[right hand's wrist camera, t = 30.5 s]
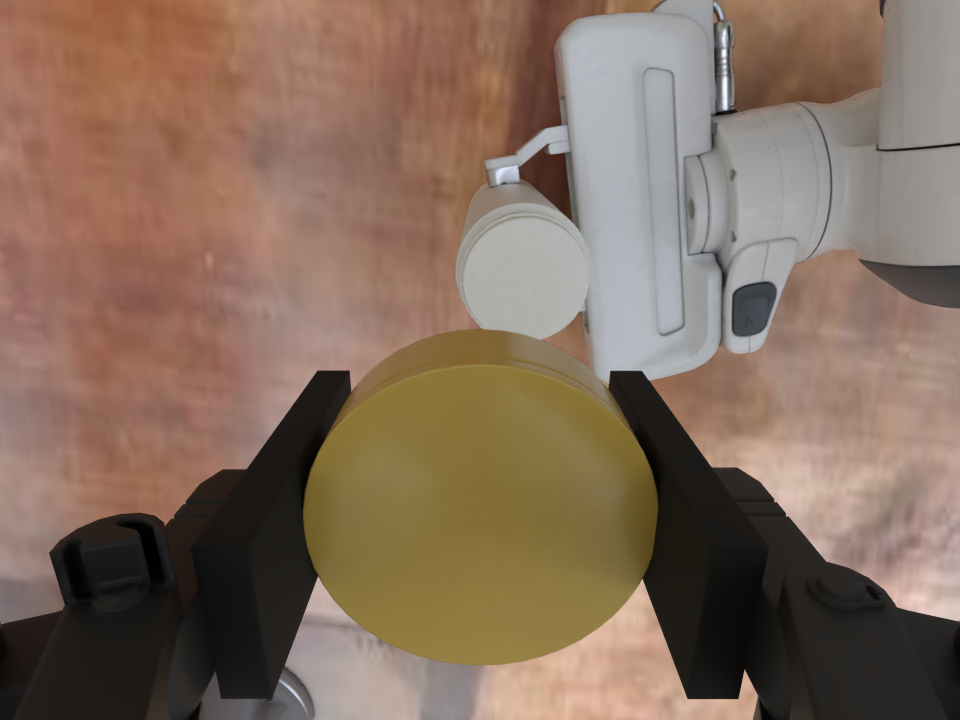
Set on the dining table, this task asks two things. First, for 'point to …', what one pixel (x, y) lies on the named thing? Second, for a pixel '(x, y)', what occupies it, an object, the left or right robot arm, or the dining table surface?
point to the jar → (521, 262)
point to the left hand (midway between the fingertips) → (495, 234)
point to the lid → (480, 500)
